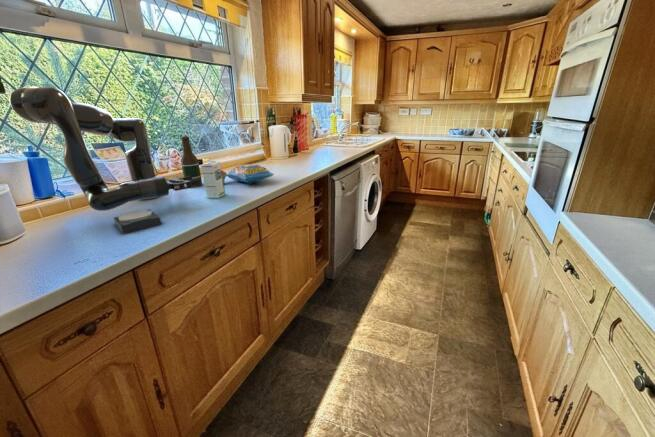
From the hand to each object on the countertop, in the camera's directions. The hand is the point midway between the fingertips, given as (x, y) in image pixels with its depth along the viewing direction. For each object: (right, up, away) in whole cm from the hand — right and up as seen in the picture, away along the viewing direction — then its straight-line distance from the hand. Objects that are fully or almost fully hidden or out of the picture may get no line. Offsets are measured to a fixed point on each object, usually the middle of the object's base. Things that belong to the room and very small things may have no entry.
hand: (195, 180), depth 123 cm
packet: (+15, +3, +31) cm, 35 cm away
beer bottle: (-13, +1, +28) cm, 31 cm away
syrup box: (+6, -6, +8) cm, 11 cm away
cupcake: (-1, +2, +29) cm, 29 cm away
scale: (-10, -18, -22) cm, 30 cm away
